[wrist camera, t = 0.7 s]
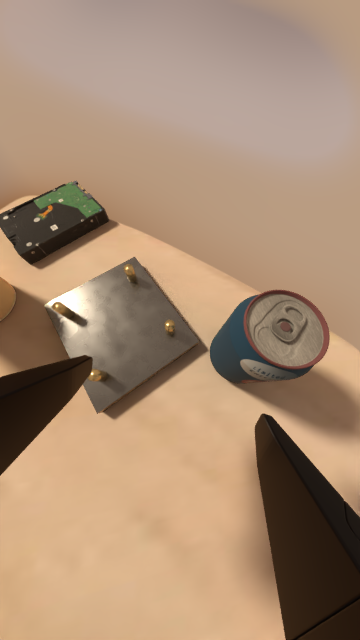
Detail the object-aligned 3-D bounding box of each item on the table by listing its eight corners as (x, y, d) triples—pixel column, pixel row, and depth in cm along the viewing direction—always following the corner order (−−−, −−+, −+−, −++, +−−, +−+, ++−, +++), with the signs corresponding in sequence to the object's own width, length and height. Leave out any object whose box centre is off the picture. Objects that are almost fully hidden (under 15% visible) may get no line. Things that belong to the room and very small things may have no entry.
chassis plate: (197, 344, 24) (201, 335, 20) (102, 411, 21) (86, 417, 17) (136, 263, 28) (130, 244, 25) (51, 309, 25) (29, 295, 22)
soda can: (241, 396, 22) (309, 404, 10) (197, 357, 23) (215, 329, 12) (271, 353, 24) (356, 322, 12) (228, 320, 25) (270, 266, 14)
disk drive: (34, 268, 29) (111, 222, 32) (19, 256, 26) (105, 207, 29) (7, 231, 31) (81, 192, 35) (-9, 217, 29) (73, 176, 32)
